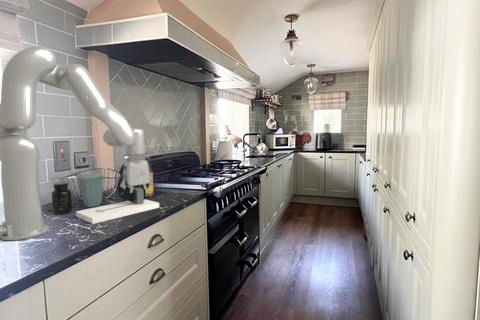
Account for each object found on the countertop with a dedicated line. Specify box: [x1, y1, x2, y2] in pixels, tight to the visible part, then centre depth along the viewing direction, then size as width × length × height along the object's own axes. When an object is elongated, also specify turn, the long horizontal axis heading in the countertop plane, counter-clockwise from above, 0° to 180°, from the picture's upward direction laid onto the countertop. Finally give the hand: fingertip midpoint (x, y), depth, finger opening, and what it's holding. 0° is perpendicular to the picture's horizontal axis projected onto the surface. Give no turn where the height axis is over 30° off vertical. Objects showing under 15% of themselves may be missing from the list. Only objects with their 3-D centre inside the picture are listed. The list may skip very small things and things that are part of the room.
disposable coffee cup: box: [77, 169, 105, 208], centre depth 128 cm, size 11×11×15 cm
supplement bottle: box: [51, 181, 74, 216], centre depth 117 cm, size 7×7×12 cm
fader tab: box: [132, 186, 144, 204], centre depth 124 cm, size 3×5×6 cm, turn 51°
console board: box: [75, 198, 160, 225], centre depth 118 cm, size 28×14×2 cm, turn 141°
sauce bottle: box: [139, 156, 154, 198], centre depth 145 cm, size 6×6×20 cm
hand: (137, 199), depth 124 cm, fingers open, 4 cm apart
